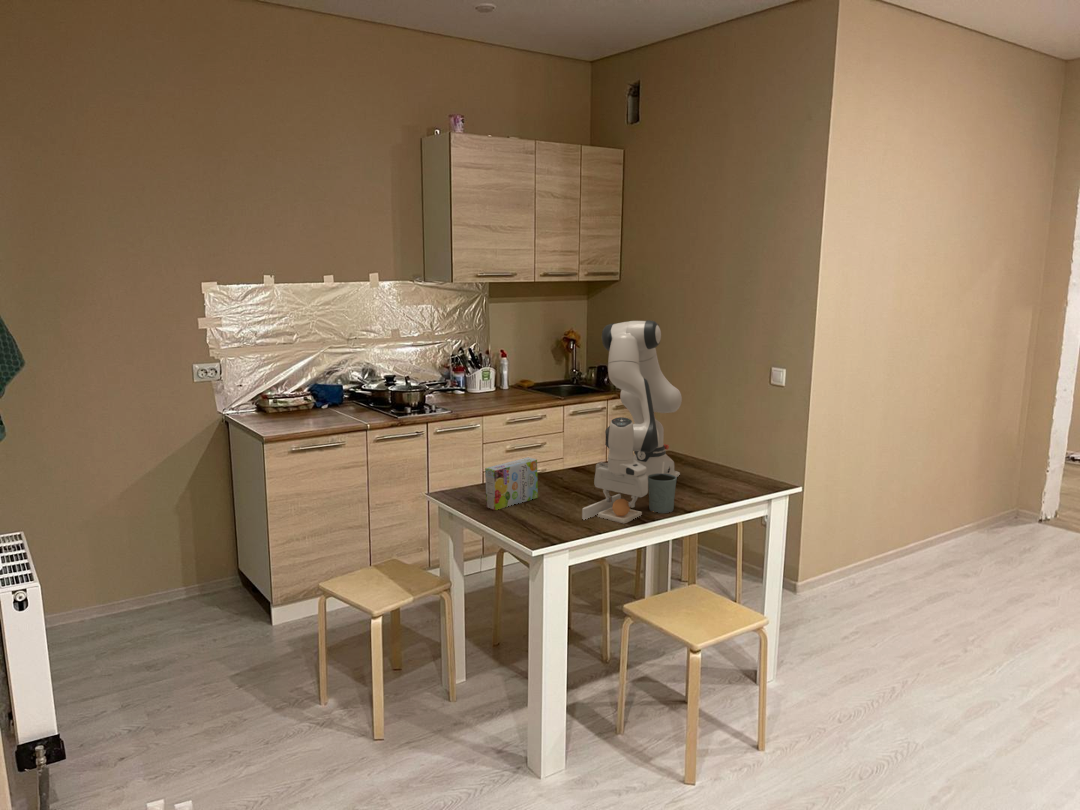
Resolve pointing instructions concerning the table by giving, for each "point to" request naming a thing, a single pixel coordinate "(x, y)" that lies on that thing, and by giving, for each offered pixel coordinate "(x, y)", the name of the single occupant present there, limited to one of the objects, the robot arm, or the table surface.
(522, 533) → the table surface
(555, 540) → the table surface
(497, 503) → the snack box
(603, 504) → the low wall
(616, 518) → the square tray
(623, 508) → the ball
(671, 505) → the grey green cup
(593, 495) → the table surface
